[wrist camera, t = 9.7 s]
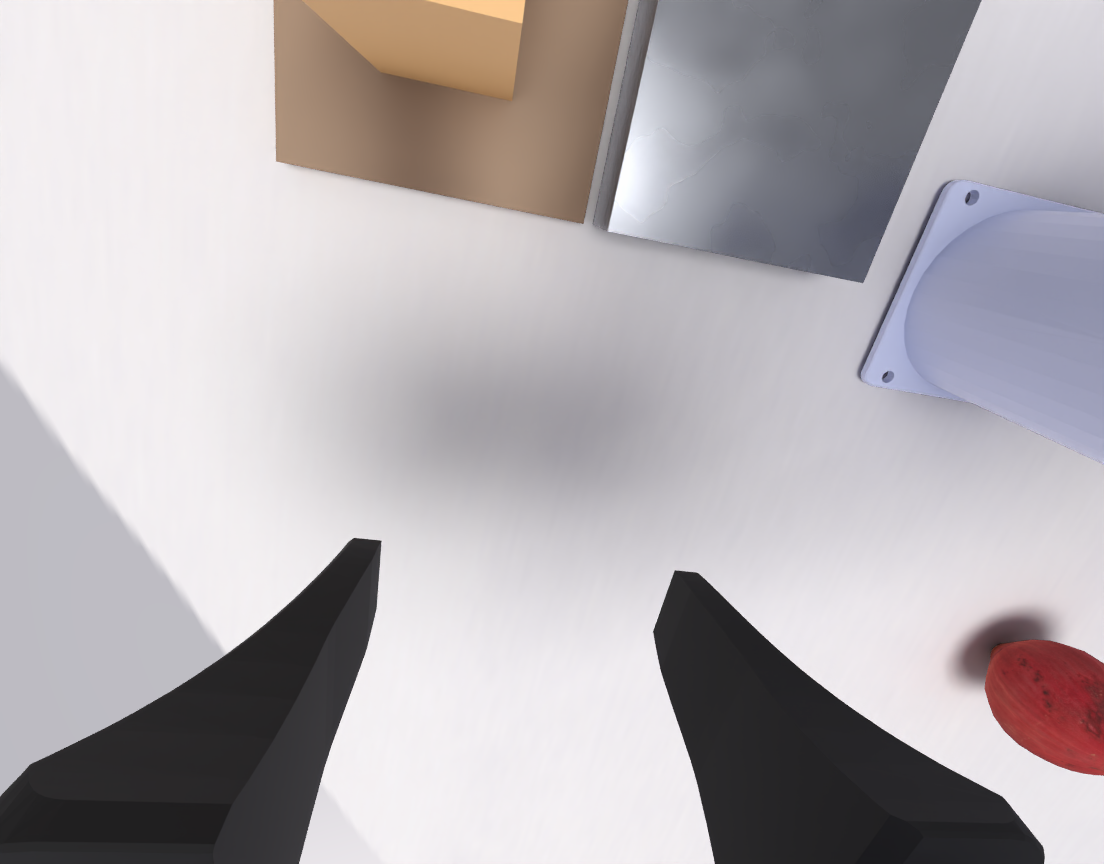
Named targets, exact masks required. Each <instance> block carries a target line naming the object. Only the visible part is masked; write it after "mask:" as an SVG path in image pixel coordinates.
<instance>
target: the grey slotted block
mask: <svg viewBox="0 0 1104 864" xmlns="http://www.w3.org/2000/svg"><path fill="white" fill-rule="evenodd" d="M980 2H981V0H640V1H639V5H638V10H637V15H636V20H635V25H634V29H633V34H632V39H631V44H630V49H629V53H628V58H627V63H626V68H625V73H624V77H623V82H622V87H621V92H620V97H619V101H618V106H617V111H616V116H615V121H614V125H613V130H612V135H611V140H610V145H609V149H608V154H607V159H606V164H605V169H604V173H603V178H602V183H601V188H600V193H599V197H598V202H597V207H596V212H595V217H594V221H593V225H595V226H597V227H599V228H601V229H604V230H606V231H608V232H613V233H618V234H623V235H628V236H633V237H638V238H643V239H648V240H653V241H658V242H663V243H668V244H673V245H678V246H683V247H687V248H692V249H697V250H702V251H707V252H712V253H717V254H722V255H727V256H732V257H737V258H742V259H747V260H752V261H757V262H762V263H766V264H771V265H776V266H781V267H786V268H791V269H796V270H801V271H806V272H811V273H816V274H821V275H826V276H831V277H836V278H841V279H846V280H850V281H855V282H860V283H863V282H864V280H865V277H866V275H867V273H868V270H869V268H870V265H871V263H872V261H873V258H874V256H875V253H876V251H877V249H878V246H879V244H880V242H881V239H882V237H883V234H884V232H885V230H886V227H887V225H888V222H889V220H890V218H891V215H892V213H893V210H894V208H895V206H896V203H897V201H898V199H899V196H900V194H901V191H902V189H903V187H904V184H905V182H906V179H907V177H908V175H909V172H910V170H911V167H912V165H913V163H914V160H915V158H916V155H917V153H918V151H919V148H920V146H921V144H922V141H923V139H924V136H925V134H926V132H927V129H928V127H929V124H930V122H931V120H932V117H933V115H934V112H935V110H936V108H937V105H938V103H939V101H940V98H941V96H942V93H943V91H944V89H945V86H946V84H947V81H948V79H949V77H950V74H951V72H952V69H953V67H954V65H955V62H956V60H957V57H958V55H959V53H960V50H961V48H962V46H963V43H964V41H965V38H966V36H967V34H968V31H969V29H970V26H971V24H972V22H973V19H974V17H975V14H976V12H977V10H978V7H979V5H980Z"/></svg>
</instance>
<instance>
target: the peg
mask: <svg viewBox="0 0 1104 864" xmlns="http://www.w3.org/2000/svg"><path fill="white" fill-rule="evenodd" d="M302 1H303V2H304V3H306V4H307V5H308V6H309V7H310V8H311V9H312V10H313V11H314V12H315V13H316V14H318V15H319V16H320V17H321V18H322V19H323V20H324V21H325V22H326V23H327V24H328V25H330V26H331V27H332V28H333V29H334V30H335V31H336V32H337V33H338V34H339V35H340V36H341V37H343V38H344V39H345V40H346V41H347V42H348V43H349V44H350V45H351V46H352V47H353V48H355V49H356V50H357V51H358V52H359V53H360V54H361V55H362V56H363V57H364V58H365V59H367V60H368V61H369V62H370V63H371V64H372V65H373V66H374V67H375V68H376V69H377V70H379V71H380V72H381V73H386V74H390V75H395V76H399V77H404V78H409V79H413V80H418V81H422V82H427V83H431V84H436V85H441V86H445V87H450V88H454V89H459V90H463V91H468V92H472V93H477V94H482V95H486V96H491V97H495V98H500V99H504V100H509V101H512V98H513V90H514V83H515V75H516V68H517V60H518V53H519V45H520V38H521V30H522V23H523V15H524V7H525V0H302Z"/></svg>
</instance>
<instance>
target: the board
mask: <svg viewBox="0 0 1104 864" xmlns="http://www.w3.org/2000/svg"><path fill="white" fill-rule="evenodd" d="M627 4H628V0H525V7H524V15H523V23H522V30H521V38H520V45H519V53H518V60H517V68H516V75H515V83H514V90H513V98H512V101H509V100H504V99H500V98H495V97H491V96H486V95H482V94H477V93H472V92H468V91H463V90H459V89H454V88H450V87H445V86H441V85H436V84H431V83H427V82H422V81H418V80H413V79H409V78H404V77H399V76H395V75H390V74H386V73H381V72H380V71H379V70H377V69H376V68H375V67H374V66H373V65H372V64H371V63H370V62H369V61H368V60H367V59H365V58H364V57H363V56H362V55H361V54H360V53H359V52H358V51H357V50H356V49H355V48H353V47H352V46H351V45H350V44H349V43H348V42H347V41H346V40H345V39H344V38H343V37H341V36H340V35H339V34H338V33H337V32H336V31H335V30H334V29H333V28H332V27H331V26H330V25H328V24H327V23H326V22H325V21H324V20H323V19H322V18H321V17H320V16H319V15H318V14H316V13H315V12H314V11H313V10H312V9H311V8H310V7H309V6H308V5H307V4H306V3H304V2H303V1H302V0H274V53H275V115H276V161H277V162H282V163H287V164H292V165H297V166H302V167H306V168H311V169H316V170H321V171H326V172H331V173H336V174H341V175H346V176H351V177H356V178H361V179H365V180H370V181H375V182H380V183H385V184H390V185H395V186H400V187H405V188H410V189H415V190H420V191H425V192H429V193H434V194H439V195H444V196H449V197H454V198H459V199H464V200H469V201H474V202H479V203H484V204H488V205H493V206H498V207H503V208H508V209H513V210H518V211H523V212H528V213H533V214H538V215H543V216H547V217H552V218H557V219H562V220H567V221H572V222H577V223H582V224H583V223H584V218H585V213H586V208H587V203H588V198H589V193H590V188H591V183H592V178H593V173H594V168H595V163H596V158H597V153H598V148H599V143H600V138H601V134H602V129H603V124H604V119H605V114H606V109H607V104H608V99H609V94H610V89H611V84H612V79H613V74H614V69H615V64H616V59H617V54H618V49H619V44H620V39H621V34H622V29H623V24H624V19H625V14H626V9H627Z"/></svg>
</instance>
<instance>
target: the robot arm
mask: <svg viewBox="0 0 1104 864" xmlns="http://www.w3.org/2000/svg"><path fill="white" fill-rule="evenodd" d="M969 192H970V193H971V196H970V200H969V201H968V202H967V203H966V202H965V198H966V195H967V194H968V193H969ZM887 371H888V375H887V376H886V378H884V379H882V376H883V374H884V373H885V372H887ZM861 379H862V380H863V382H865V383H867V384H868V385H871V386H876V387H881V388H887V389H893V390H899V391H905V392H911V393H917V394H923V395H929V396H935V397H941V398H947V399H952V400H958V401H964V402H970V403H973V404H975V405H977V406H979V407H982V408H984V409H986V410H988V411H990V412H992V413H994V414H997V415H999V416H1001V417H1003V418H1005V419H1007V420H1009V421H1012V422H1014V423H1016V424H1018V425H1020V426H1022V427H1024V428H1027V429H1029V430H1031V431H1033V432H1035V433H1037V434H1039V435H1042V436H1044V437H1046V438H1048V439H1050V440H1052V441H1054V442H1057V443H1059V444H1061V445H1063V446H1065V447H1067V448H1069V449H1072V450H1074V451H1076V452H1078V453H1080V454H1082V455H1084V456H1087V457H1089V458H1091V459H1093V460H1095V461H1097V462H1099V463H1102V464H1104V214H1103V213H1099V212H1095V211H1090V210H1086V209H1082V208H1078V207H1074V206H1070V205H1066V204H1062V203H1058V202H1054V201H1050V200H1046V199H1041V198H1037V197H1033V196H1029V195H1025V194H1021V193H1017V192H1013V191H1009V190H1005V189H1001V188H997V187H992V186H988V185H984V184H980V183H976V182H972V181H968V180H954V181H952V182H950V183H948V184H947V185H946V186H945V187H944V189H943V190H942V192H941V194H940V197H939V199H938V201H937V203H936V206H935V208H934V210H933V212H932V215H931V217H930V219H929V221H928V223H927V226H926V228H925V230H924V232H923V235H922V237H921V239H920V241H919V244H918V246H917V248H916V250H915V253H914V255H913V257H912V259H911V262H910V264H909V266H908V268H907V271H906V273H905V275H904V277H903V279H902V282H901V284H900V286H899V288H898V291H897V293H896V295H895V297H894V300H893V302H892V304H891V306H890V309H889V311H888V313H887V315H886V318H885V320H884V322H883V324H882V327H881V329H880V331H879V333H878V335H877V338H876V340H875V342H874V344H873V347H872V349H871V351H870V353H869V356H868V358H867V360H866V362H865V365H864V367H863V369H862V372H861ZM380 554H381V541H379V540H369V539H359V538H354V539H352V540H351V541H349V542H348V543H347V545H346V546H345V547H344V548H343V549H342V550H341V552H340V553H339V554H338V555H337V556H336V557H335V558H334V559H333V561H332V562H331V563H330V564H329V565H328V566H327V567H326V568H325V569H324V570H323V571H322V572H321V573H320V574H319V575H318V576H317V577H316V578H315V579H314V580H313V581H312V582H311V583H310V584H309V585H308V586H307V587H306V588H305V589H304V590H303V591H302V592H301V593H300V594H299V595H298V596H297V597H296V598H295V599H294V600H292V601H291V602H290V603H289V604H288V605H287V606H286V607H285V608H283V609H282V610H281V611H280V612H279V613H278V614H277V615H275V616H274V617H273V618H272V619H271V620H270V621H269V622H267V623H266V624H265V625H264V626H263V627H261V628H260V629H259V630H258V631H256V632H255V633H254V634H253V635H251V636H250V637H249V638H248V639H246V640H245V641H244V642H242V643H241V644H240V645H238V646H237V647H236V648H234V649H233V650H232V651H230V652H229V653H228V654H226V655H225V656H223V657H222V658H221V659H219V660H218V661H216V662H215V663H213V664H212V665H211V666H209V667H208V668H206V669H205V670H203V671H202V672H200V673H199V674H197V675H196V676H194V677H193V678H191V679H190V680H188V681H187V682H185V683H183V684H182V685H180V686H179V687H177V688H175V689H174V690H172V691H171V692H169V693H167V694H165V695H164V696H162V697H160V698H159V699H157V700H155V701H153V702H152V703H150V704H148V705H146V706H145V707H143V708H141V709H140V710H138V711H136V712H135V713H133V714H131V715H129V716H127V717H125V718H123V719H122V720H120V721H118V722H116V723H114V724H112V725H110V726H108V727H107V728H105V729H103V730H101V731H99V732H97V733H95V734H92V735H90V736H88V737H86V738H84V739H82V740H80V741H78V742H76V743H74V744H72V745H70V746H68V747H66V748H64V749H62V750H60V751H58V752H56V753H54V754H52V755H50V756H48V757H45V758H43V759H41V760H39V761H37V762H34V763H32V764H31V765H29V767H28V768H27V769H26V770H25V771H24V772H23V773H22V774H21V776H19V777H18V778H17V780H16V781H15V782H14V783H13V784H12V785H11V786H10V787H9V788H8V789H7V790H6V791H5V792H4V793H3V794H2V795H1V796H0V864H299V861H300V857H301V854H302V850H303V846H304V842H305V838H306V834H307V830H308V827H309V823H310V819H311V815H312V811H313V808H314V804H315V800H316V796H317V793H318V789H319V785H320V782H321V778H322V774H323V771H324V767H325V764H326V761H327V758H328V755H329V752H330V748H331V745H332V743H333V740H334V737H335V734H336V732H337V729H338V726H339V723H340V721H341V718H342V715H343V713H344V710H345V707H346V704H347V702H348V699H349V696H350V694H351V691H352V688H353V685H354V683H355V680H356V677H357V674H358V672H359V669H360V666H361V663H362V661H363V658H364V655H365V652H366V649H367V645H368V641H369V637H370V633H371V629H372V625H373V621H374V617H375V613H376V607H377V594H378V581H379V567H380ZM653 633H654V638H655V644H656V650H657V655H658V660H659V664H660V669H661V673H662V676H663V679H664V682H665V685H666V688H667V691H668V694H669V697H670V701H671V704H672V707H673V709H674V712H675V715H676V718H677V721H678V724H679V727H680V730H681V733H682V736H683V739H684V742H685V745H686V748H687V751H688V754H689V757H690V760H691V763H692V767H693V770H694V773H695V777H696V780H697V784H698V789H699V793H700V797H701V801H702V806H703V810H704V814H705V819H706V823H707V827H708V832H709V837H710V842H711V847H712V851H713V856H714V861H715V864H1044V859H1045V856H1044V849H1043V846H1042V845H1041V844H1040V842H1039V841H1038V840H1037V839H1036V837H1035V836H1034V835H1033V834H1032V832H1031V831H1030V830H1029V829H1028V827H1027V826H1026V825H1025V824H1024V822H1023V821H1022V820H1021V819H1020V817H1019V816H1018V815H1017V814H1016V813H1015V811H1014V810H1013V809H1012V808H1011V806H1010V805H1009V804H1008V803H1007V801H1006V800H1005V799H1004V798H1003V797H1002V796H1000V795H998V794H996V793H994V792H992V791H990V790H988V789H987V788H985V787H983V786H981V785H979V784H977V783H975V782H973V781H971V780H969V779H967V778H966V777H964V776H962V775H960V774H958V773H956V772H954V771H952V770H950V769H948V768H947V767H945V766H943V765H941V764H939V763H938V762H936V761H934V760H932V759H931V758H929V757H927V756H926V755H924V754H922V753H921V752H919V751H917V750H915V749H914V748H912V747H910V746H909V745H907V744H905V743H904V742H902V741H900V740H899V739H897V738H896V737H894V736H892V735H891V734H889V733H888V732H886V731H885V730H883V729H881V728H880V727H879V726H877V725H876V724H874V723H873V722H871V721H870V720H868V719H867V718H865V717H864V716H862V715H861V714H859V713H858V712H856V711H855V710H853V709H852V708H851V707H849V706H848V705H846V704H845V703H844V702H842V701H841V700H839V699H838V698H837V697H835V696H834V695H833V694H832V693H830V692H829V691H828V690H826V689H825V688H824V687H822V686H821V685H820V684H819V683H817V682H816V681H815V680H813V679H812V678H811V677H810V676H808V675H807V674H806V673H805V672H803V671H802V670H801V669H800V668H799V667H797V666H796V665H795V664H794V663H793V662H792V661H791V660H789V659H788V658H787V657H786V656H785V655H784V654H783V653H781V652H780V651H779V650H778V649H777V648H776V647H775V646H774V645H772V644H771V643H770V642H769V641H768V640H767V639H766V638H765V637H764V636H763V635H762V634H761V633H760V632H758V631H757V630H756V629H755V628H754V627H753V626H752V625H751V624H750V623H749V622H748V621H747V620H746V619H745V618H744V617H743V616H742V615H741V614H740V613H739V612H738V611H737V610H736V609H735V608H734V607H733V606H732V605H731V604H730V603H729V602H728V601H727V600H726V599H725V598H724V597H723V596H722V595H721V594H720V593H719V592H718V591H717V590H716V589H714V588H713V587H712V586H711V585H710V584H709V583H708V582H707V581H706V580H705V579H704V578H703V577H702V576H701V575H699V574H698V573H695V572H685V571H674V574H673V577H672V580H671V583H670V586H669V588H668V591H667V594H666V597H665V600H664V602H663V605H662V608H661V611H660V614H659V617H658V619H657V622H656V625H655V628H654V631H653Z"/></svg>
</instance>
